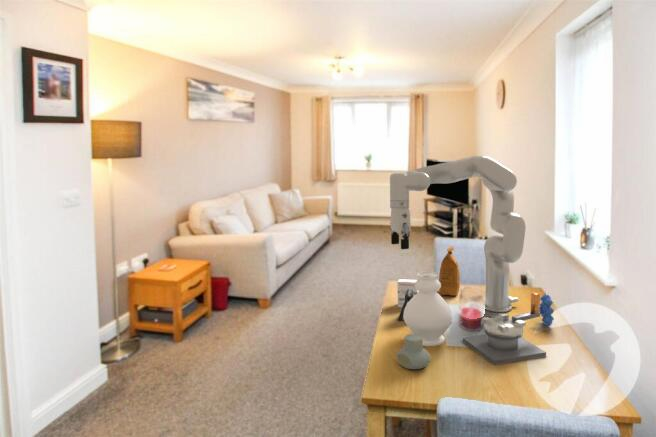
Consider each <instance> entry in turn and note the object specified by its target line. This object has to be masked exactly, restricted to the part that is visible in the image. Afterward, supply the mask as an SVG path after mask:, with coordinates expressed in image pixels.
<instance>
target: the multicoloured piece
mask: <svg viewBox="0 0 656 437" xmlns="http://www.w3.org/2000/svg"><path fill="white" fill-rule="evenodd" d="M540 299H541V293H539V292H531V293H530V311H529V312H526V313H520V314H518V315H513V316H511V318H510V316H509V314H507V313H506V312H500V313H498V316H497V317H496V316H495V317H488V316H484V317H481V323H483V332H484V334H487V335H488V336H490V337H493V338H497V339H504V340H513V339H518V338H520V337H522V338H523V335H524V327H526V320H527V321H528V320H532V319H536V318H539V317H541V314H540V312H539V311H540V303H541V300H540Z"/></svg>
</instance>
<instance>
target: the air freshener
mask: <svg viewBox="0 0 656 437" xmlns="http://www.w3.org/2000/svg"><path fill="white" fill-rule="evenodd" d="M403 340H404V341H403V343H404V344H403V347H402V348H400V349H399V350H398V352H397V354H396V360H397V362H398V363H399V364H400V365H401V366H402V367H403V368H406V369H407V370H420V369H423V368H425V367H427V366H428V365H429V363H430V361H431V354H430V353H429V352H428V350H427V349H425V348H424V347H423V346H422V337H421V336H420V335H417V334H414V333H409V334H406V335H405V336H404V338H403Z"/></svg>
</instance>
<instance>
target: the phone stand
mask: <svg viewBox="0 0 656 437" xmlns="http://www.w3.org/2000/svg"><path fill="white" fill-rule="evenodd" d="M408 291H409V289H408V290H407V291H406V294H405V302H404V304H403V307H401V310H400V312H399V316H398V318H397V322H404V323H405V321H404V317H403V314H404V309H405V307H406V305H407V302H409V301H410V300H411V299H412V298H413V297H414V296H413V294H414V292H413V290H412V289H411V291H410V295H408Z"/></svg>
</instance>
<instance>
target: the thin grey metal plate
mask: <svg viewBox="0 0 656 437" xmlns="http://www.w3.org/2000/svg"><path fill="white" fill-rule="evenodd" d="M462 342H463V343H464V344H465V345H467V346H468V347H469V348H470V349H472V350H473V351H475V352H476V353H477V354H478V355H480V356H481V357H483V358H484V359H485V360H487V361H488V362H489V363H491V365H493V366H495V365H496V366H497V365H501V364H502V365H503V364H508V363H513V362H515V363H516V362H520V361H526V360H532V359H537V358H543V357H544V358H545V357H547V352H546V350H545V351H544V350H543V349H542V348H540V347H538V346H537V345H536V344H534V343H531V342H530V341H528V340H527V339H525V338H523V336H522V337H520V338H518V339H513V340H504V339H497V338H493V337H490V336H488V335H487V334H485V333H484V334H475V335H470V336H464V337H462Z"/></svg>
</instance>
